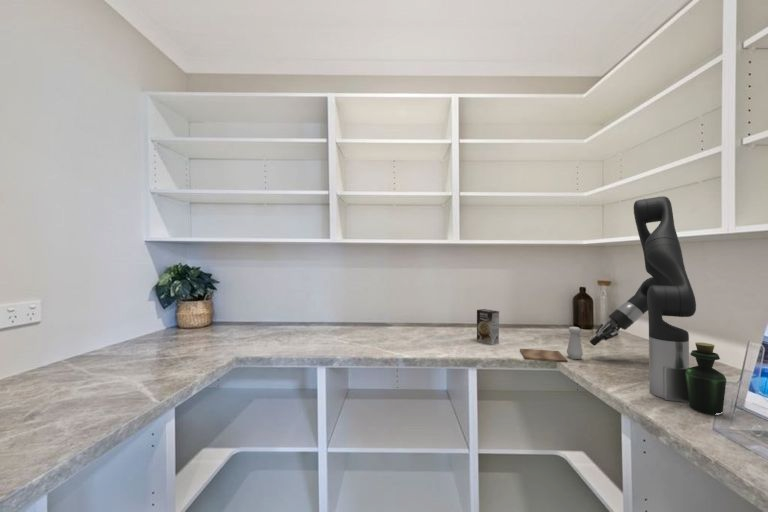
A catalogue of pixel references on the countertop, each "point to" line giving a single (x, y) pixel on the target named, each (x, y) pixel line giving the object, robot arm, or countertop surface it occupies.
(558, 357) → the walnut board
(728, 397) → the countertop surface
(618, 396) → the countertop surface
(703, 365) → the potion bottle
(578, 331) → the salt shaker
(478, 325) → the coffee box
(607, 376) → the countertop surface
